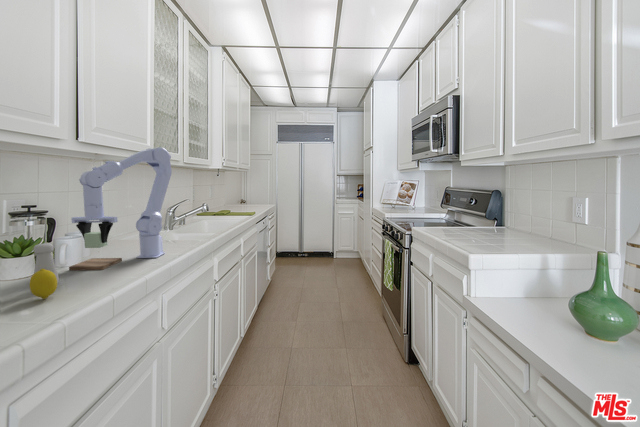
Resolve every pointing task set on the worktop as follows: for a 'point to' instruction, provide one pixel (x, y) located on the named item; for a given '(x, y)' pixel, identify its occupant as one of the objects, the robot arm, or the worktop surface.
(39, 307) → the worktop surface
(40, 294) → the lemon
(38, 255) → the salt shaker
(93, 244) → the green cube
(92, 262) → the cutting board
